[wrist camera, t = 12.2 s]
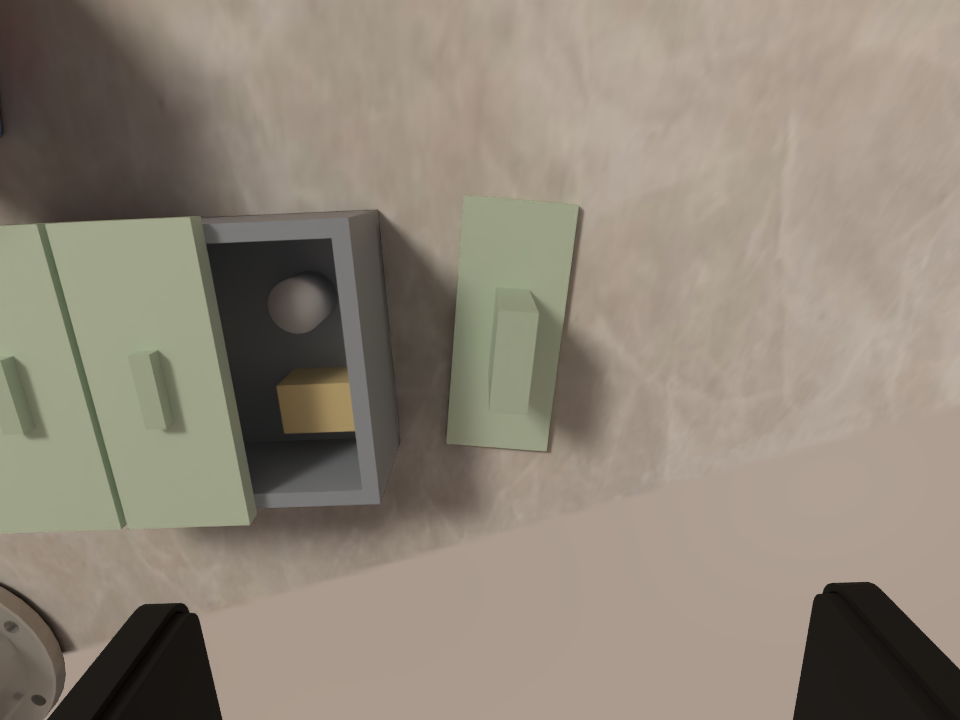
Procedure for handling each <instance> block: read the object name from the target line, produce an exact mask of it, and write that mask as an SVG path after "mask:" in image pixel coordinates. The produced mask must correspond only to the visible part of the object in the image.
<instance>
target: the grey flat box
mask: <svg viewBox="0 0 960 720" xmlns="http://www.w3.org/2000/svg"><path fill="white" fill-rule="evenodd" d="M201 221H202V226H203V231H204V236H205V242H206V247H207V252H208V257H209V263H210V268H211V273H212V278H213V284H214V289H215V294H216V299H217V305H218V310H219V315H220V321H221V326H222V331H223V336H224V342H225V347H226V352H227V357H228V363H229V368H230V373H231V378H232V384H233V389H234V394H235V399H236V405H237V410H238V415H239V420H240V426H241V431H242V436H243V442H244V447H245V452H246V457H247V463H248V468H249V473H250V478H251V484H252V489H253V494H254V499H255V505H256V508H281V507H311V506H340V505H369V504H380V503H381V500H382V497H383V494H384V491H385V488H386V485H387V482H388V479H389V476H390V472H391V469H392V466H393V463H394V460H395V457H396V454H397V451H398V448H399V444H400V435H399V424H398V414H397V403H396V393H395V383H394V372H393V362H392V351H391V341H390V331H389V320H388V310H387V300H386V289H385V279H384V268H383V258H382V248H381V237H380V227H379V216H378V210H358V211H336V212H313V213H291V214H269V215H247V216H225V217H203V218H201Z"/></svg>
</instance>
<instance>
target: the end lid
mask: <svg viewBox="0 0 960 720" xmlns="http://www.w3.org/2000/svg"><path fill="white" fill-rule="evenodd" d="M578 209H579V205H577V204H565V203H554V202H542V201H530V200H519V199H507V198H496V197H484V196H473V195H464V201H463V215H462V229H461V243H460V257H459V271H458V285H457V299H456V313H455V327H454V341H453V355H452V369H451V383H450V397H449V411H448V425H447V439H446V444H456V445H469V446H482V447H495V448H508V449H520V450H533V451H546V450H547V443H548V435H549V428H550V420H551V413H552V405H553V398H554V390H555V382H556V375H557V367H558V360H559V352H560V345H561V337H562V330H563V322H564V315H565V307H566V299H567V292H568V284H569V277H570V269H571V262H572V254H573V247H574V239H575V232H576V224H577V216H578Z"/></svg>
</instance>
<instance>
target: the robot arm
mask: <svg viewBox="0 0 960 720" xmlns="http://www.w3.org/2000/svg"><path fill="white" fill-rule="evenodd" d="M65 676H66V673H65V663H64V658H63V655H62V652H61V649H60V646H59V643H58V641H57V640H56V638H55V636H54V634H53V633H52V631H51V629H50V628H49V626H48V625H47V624H46V623H45V622H44V620H43V619H42V618H41V617H40V616H39V614H38V613H37V612H36V611H34V610H33V609H32V608H31V607H30V606H29V605H28V604H26V603H25V602H24V601H23V600H22V599H20V598H19V597H17V596H16V595H14V594H13V593H11V592H9V591H8V590H6V589H5V588H3V587H1V586H0V720H43V719H44V718H45V717H46V716H47V714H48V713H49V712H50V710H51V709H52V708H53V707H54V705H55V704H56V703H57V701H58V699H59V697H60V695H61V693H62V690H63V688H64V682H65ZM47 720H222V716H221V711H220V707H219V703H218V699H217V694H216V690H215V686H214V681H213V677H212V673H211V668H210V664H209V660H208V655H207V651H206V647H205V643H204V638H203V634H202V630H201V625H200V621H199V618H198V616H197V615H196V614H195V613H189V610H188V608H187V606H186V605H185V604H182V603H168V604H144V605H142V606H140V607H139V608H138V609H137V610H136V611H134V613H133V614H132V615H131V616H130V618H129V619H128V620H127V621H126V623H125V624H124V625H123V626H122V627H121V629H120V630H119V631H118V632H117V634H116V635H115V636H114V637H113V639H112V640H111V641H110V642H109V644H108V645H107V646H106V647H105V649H104V650H103V651H102V652H101V653H100V655H99V656H98V657H97V659H96V660H95V661H94V662H93V663H92V665H91V666H90V667H89V668H88V670H87V671H86V672H85V673H84V675H83V676H82V677H81V678H80V680H79V681H78V682H77V683H76V684H75V686H74V687H73V688H72V690H71V691H70V692H69V693H68V694H67V696H66V697H65V698H64V699H63V701H62V702H61V703H60V704H59V706H58V707H57V708H56V709H55V711H54V712H53V713H52V714H51V715H50V717H49V718H48V719H47ZM793 720H960V669H959V668H958V667H957V666H956V665H955V664H954V663H953V662H951V660H950V659H949V658H948V657H947V656H946V655H945V654H944V653H943V652H942V651H941V650H940V649H939V648H938V647H937V646H936V645H935V644H934V643H933V642H932V641H931V640H930V639H929V638H928V637H927V636H926V635H925V634H924V633H923V632H922V631H921V630H920V629H919V628H918V627H917V626H916V625H915V624H914V623H913V622H912V621H911V620H910V619H909V618H908V617H907V615H906V614H905V613H904V612H903V611H902V610H901V609H900V608H898V606H897V605H896V604H895V603H894V602H893V601H892V600H891V599H890V598H889V597H888V596H887V595H886V594H885V593H884V592H883V591H882V590H881V589H880V588H879V587H877V586H876V585H875V584H873V583H870V582H850V583H830V584H828V585H826V587H825V588H824V591H823V593H822V594H817V595H816V596H815V598H814V601H813V606H812V612H811V618H810V623H809V629H808V635H807V641H806V647H805V652H804V658H803V664H802V670H801V676H800V682H799V687H798V693H797V699H796V705H795V711H794V717H793Z"/></svg>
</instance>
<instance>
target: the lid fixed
mask: <svg viewBox="0 0 960 720" xmlns="http://www.w3.org/2000/svg"><path fill="white" fill-rule="evenodd" d="M256 516H257V510H256V505H255V499H254V494H253V489H252V484H251V478H250V473H249V468H248V463H247V457H246V452H245V447H244V442H243V436H242V431H241V426H240V420H239V415H238V410H237V405H236V399H235V394H234V389H233V384H232V378H231V373H230V368H229V363H228V357H227V352H226V347H225V342H224V336H223V331H222V326H221V321H220V315H219V310H218V305H217V299H216V294H215V289H214V284H213V278H212V273H211V268H210V263H209V257H208V252H207V247H206V242H205V236H204V231H203V226H202V221H201V216H188V217H166V218H144V219H122V220H100V221H78V222H59V223H34V224H12V225H0V534H2V533H31V532H61V531H91V530H121V529H122V528H123V527H124V526H125V525H126V524H127V526H128V529H150V528H180V527H210V526H240V525H250V524H251V523H252V521H253V520H254V519H255V517H256Z"/></svg>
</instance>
